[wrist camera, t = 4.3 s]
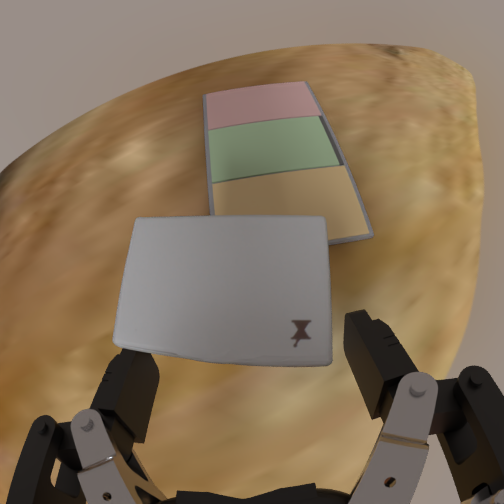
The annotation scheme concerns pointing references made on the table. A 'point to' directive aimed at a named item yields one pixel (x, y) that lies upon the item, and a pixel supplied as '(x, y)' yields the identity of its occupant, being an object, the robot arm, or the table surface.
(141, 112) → the table surface
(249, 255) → the skincare box
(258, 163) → the multicoloured flat board
